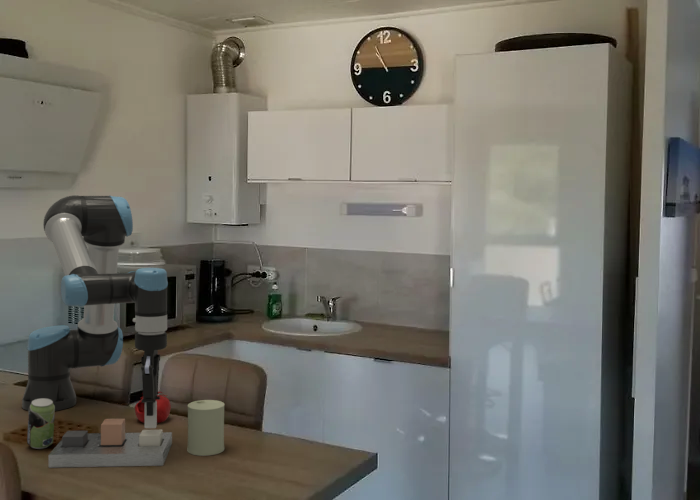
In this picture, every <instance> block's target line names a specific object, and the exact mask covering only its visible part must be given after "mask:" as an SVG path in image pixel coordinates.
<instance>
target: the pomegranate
mask: <svg viewBox="0 0 700 500" xmlns="http://www.w3.org/2000/svg"><path fill="white" fill-rule="evenodd" d="M160 393H161V394H160ZM157 396H160V400H157V424H161V423H164V422H165V421H166V420H167V419H168V417H169V416H170V412H171V408H172V405H171V402H170V399H169V398H167V395H166V394H163V392H162V391H159V390H158V395H157ZM139 399H140V400H139V401H138V402H136V404H135V405H134V412H135V416H136V418H137V420H138V421H139V422H141V423H143V424H145V403H142V402H141V400H142V399H143V396H141V397H140V398H139Z"/></svg>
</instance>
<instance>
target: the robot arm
mask: <svg viewBox="0 0 700 500" xmlns="http://www.w3.org/2000/svg"><path fill="white" fill-rule="evenodd" d="M131 210H132V209H131V206H130V204H129V202H128V200H127V199H126V198H125V197H122V196H114V195H113V196H112V195H75V194H74V195H68V196H64V197H62V198H60V199H59V200H57V201H55V202H53V204H52V205H51V206H50V207H49V208H48V209H47V211H46V213H45V214H44V218H43V231H44V233H45V235H46V238H47V239H48V240H49V241H50V242H52V244H53V247H54V249H55V252H56V255H57V258H58V260H59V263H60V266H61V268H62V272H63V274H64V276H62V278H61V282H60V295H61V300H62V302H63V304H64V305H65V306H70V307H71V306H75V307H77V306H78V307H84V309H83V318H82V319H80V320H79V321H78V322H77V329H71V328H70V326H69V325H66V324H65V325H64V324H61V325H50V326H46V327H42V328H37V329H35V330H33V331H32V332H30V334H29V335H28V337H27V348H26V350H27V371H28V372H27V374H28V375H27V376H28V377H27V378H28V379H27V384H26V387H25V390H24V394H23V396H22V399H21V408H22V409H23V410H25V411H27V412H29V406H30V405H31V403H32V401H33V400H35V399H40V398H46V399H50V400H52V401H53V404H54V406H55V411H61V410H66V409H69V408H72V407H74V406H76V404H77V395H76V391H75V389H74V386H73V383H72V381H71V370H72V369H82V368H93V367H94V368H95V367H105V366H109V365H114V364H116V363H117V362H118V361H119V359H120V358H121V355H122V352H123V348H124V347H123V346H124V339H123V338H124V335H123V331H122V328H120V327H119V326H118V322H117V321H116V320H114V313H115V304H133V303H134V315H135V317H133V318H132V322H133V323H134V324H135V325H134V326H135V327H134V330H135V332H136V333H135V334H134V348H135V349H137V350H138V351H144V353H143V356H141V361H140V362H141V363H140V364H141V369H140V370H141V375H142V376H141V378H142V380H141V381H142V397H143V399H142V398H141V399H140V400H141V402H142V403H145V423H144V429H156V428H157V426H158V425H157V424H158V423H157V400H160V396H157V395H159V394H158V392H159V380H160V379H159V376H160V374H159V373H160V372H159V371H160V361H161V354H158V353H159V351H160V350H164V349H166V347H167V346H168V334H167V332H166V331H167V330H168V312H167V311H168V285H169V282H168V272H167V270H166V269H165V268H161V267H160V268H159V267H142V268H138V269H136V270H135V271H134V270H133V271H129V272H119V273H118V261H119V252H120V251H119V250H120V247H122V246H123V245H124V244H125V239H126V237H129V236H131V235H132V233H133V229H134V228H133V227H134V226H133V225H134V224H133V213H132V211H131Z"/></svg>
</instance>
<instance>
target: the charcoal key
mask: <svg viewBox="0 0 700 500" xmlns="http://www.w3.org/2000/svg"><path fill="white" fill-rule="evenodd" d="M88 432H89V431H88V430H66V432H65V433H64V434H63V436H62V438H61V440H62V447H85V446H86V444H87V443H88Z"/></svg>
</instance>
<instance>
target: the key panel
mask: <svg viewBox="0 0 700 500" xmlns="http://www.w3.org/2000/svg"><path fill="white" fill-rule="evenodd" d="M140 434H141V432H125V440H124V442H123V443H122V445H101V432H94V433H93V432H91V433H88V443H87V444H86V446H85V447H62V439H61V440H60V441H58V443H57V445H56V446H55V447H54V448H53V449H52V450H51V451H50V452H49V454H48V468H49V469H51V468H91V467H92V468H94V467H96V468H97V467H98V468H99V467H101V468H102V467H105V468H106V467H107V468H108V467H153V466H155V467H158V466H159V467H162V466H164V465H165V462H166V460H167V457H168V454H169V452H170V450H171V448H172V445H173V432H171V431H169V432H167V431H166V432H165V431H164V432H163V431H162V445H161V446H139V435H140Z"/></svg>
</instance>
